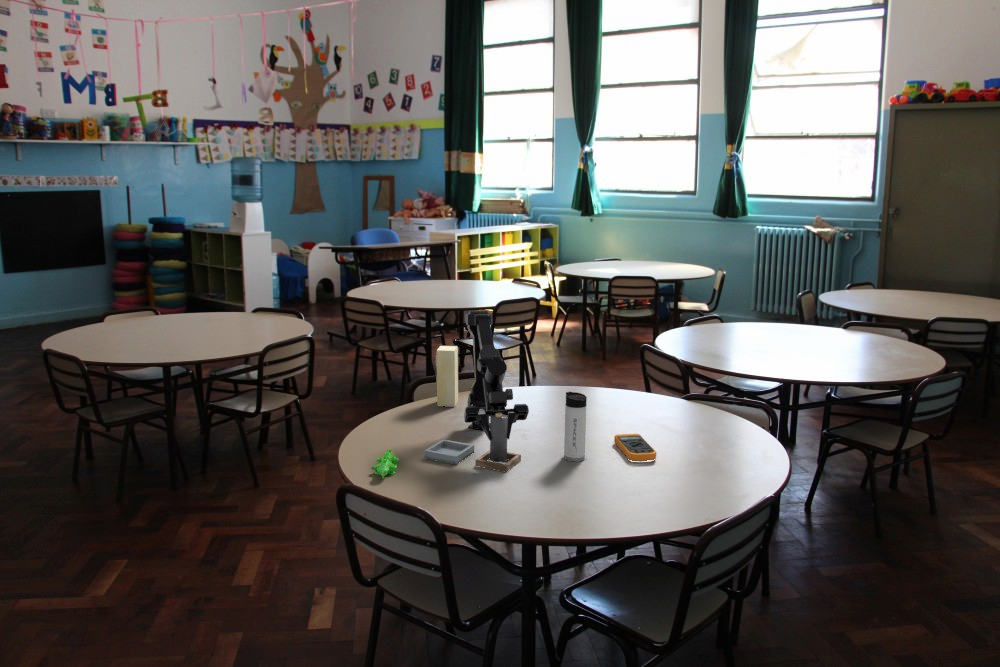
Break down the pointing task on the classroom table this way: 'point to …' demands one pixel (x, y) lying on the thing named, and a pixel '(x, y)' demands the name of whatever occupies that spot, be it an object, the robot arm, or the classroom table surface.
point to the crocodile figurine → (386, 464)
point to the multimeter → (635, 447)
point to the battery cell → (498, 437)
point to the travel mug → (575, 426)
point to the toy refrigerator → (447, 376)
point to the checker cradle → (498, 466)
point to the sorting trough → (449, 451)
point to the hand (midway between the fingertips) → (499, 439)
